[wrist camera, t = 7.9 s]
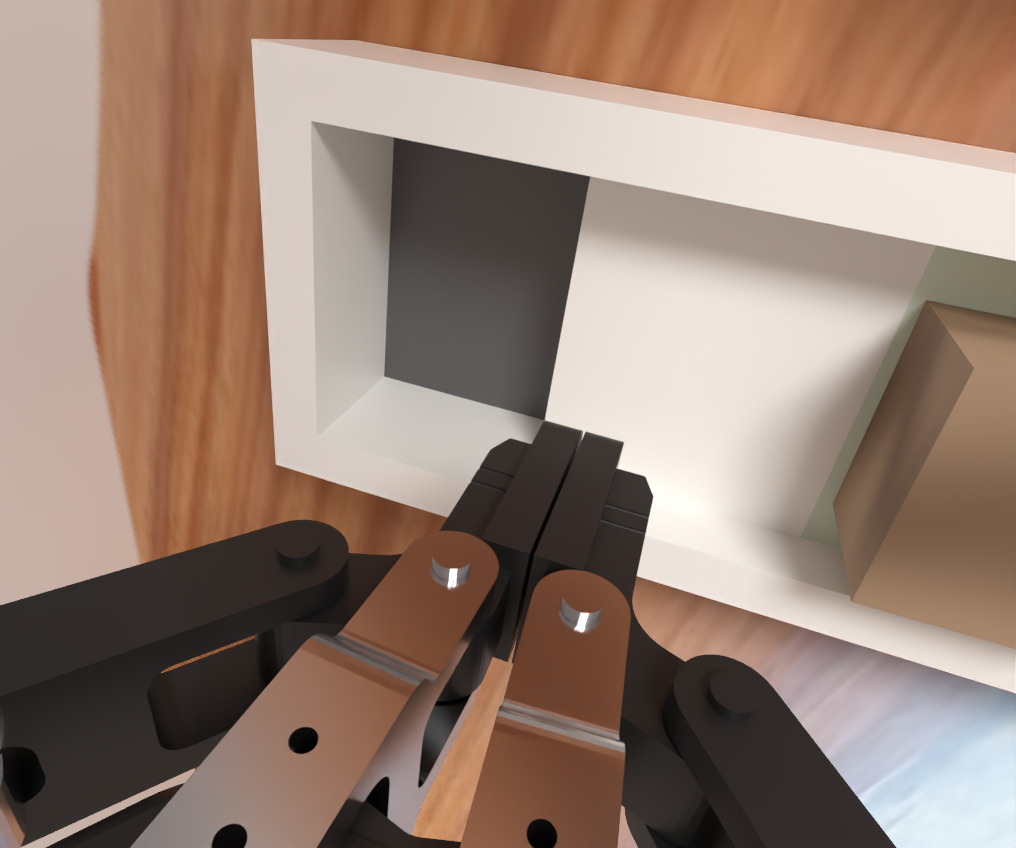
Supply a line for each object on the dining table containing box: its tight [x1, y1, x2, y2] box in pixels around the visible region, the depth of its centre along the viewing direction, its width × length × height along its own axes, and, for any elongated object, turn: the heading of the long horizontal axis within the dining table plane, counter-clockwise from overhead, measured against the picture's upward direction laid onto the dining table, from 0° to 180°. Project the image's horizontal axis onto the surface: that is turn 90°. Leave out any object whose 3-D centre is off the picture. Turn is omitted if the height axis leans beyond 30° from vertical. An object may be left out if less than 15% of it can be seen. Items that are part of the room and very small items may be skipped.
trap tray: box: [251, 39, 1016, 693], centre depth 18 cm, size 12×32×5 cm, turn 82°
